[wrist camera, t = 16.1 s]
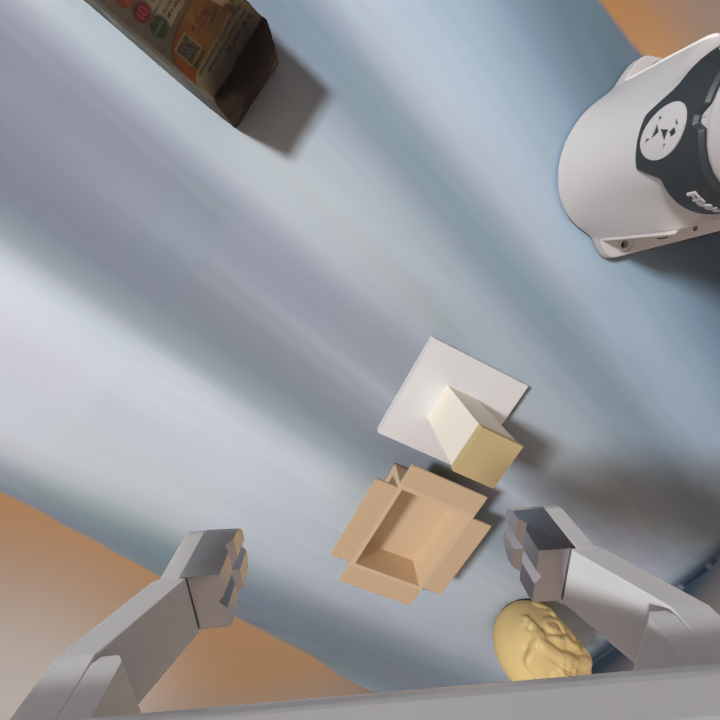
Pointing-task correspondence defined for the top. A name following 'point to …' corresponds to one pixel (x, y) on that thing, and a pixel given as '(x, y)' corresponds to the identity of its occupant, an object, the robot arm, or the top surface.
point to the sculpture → (537, 643)
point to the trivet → (427, 386)
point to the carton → (410, 534)
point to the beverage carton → (201, 46)
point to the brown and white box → (472, 438)
